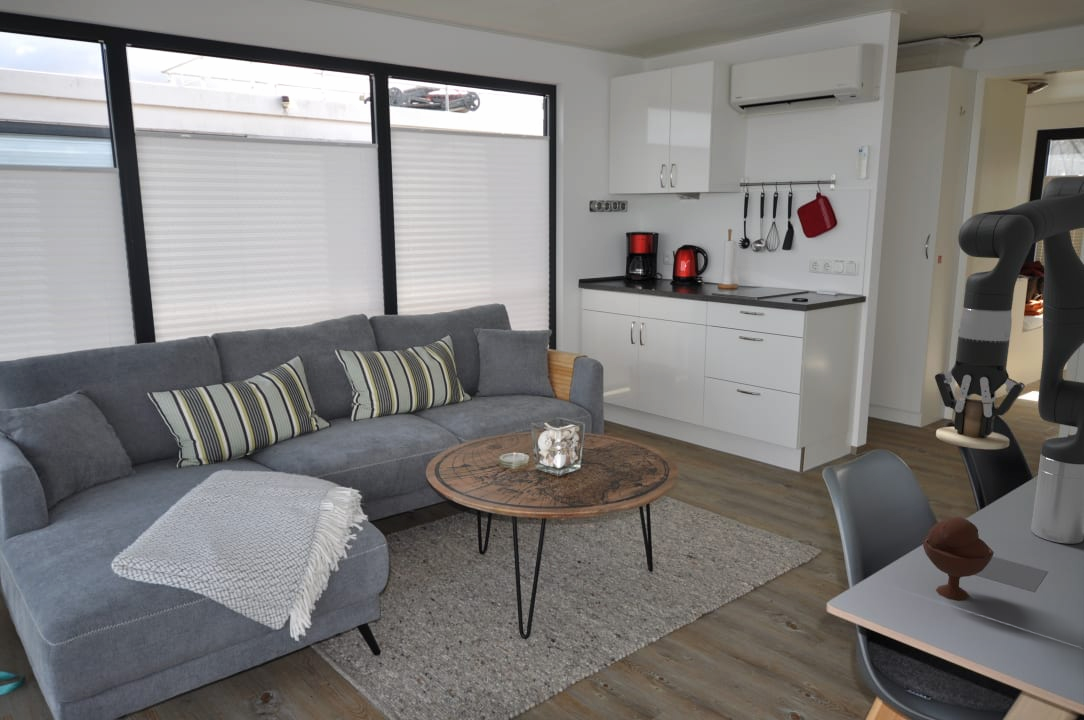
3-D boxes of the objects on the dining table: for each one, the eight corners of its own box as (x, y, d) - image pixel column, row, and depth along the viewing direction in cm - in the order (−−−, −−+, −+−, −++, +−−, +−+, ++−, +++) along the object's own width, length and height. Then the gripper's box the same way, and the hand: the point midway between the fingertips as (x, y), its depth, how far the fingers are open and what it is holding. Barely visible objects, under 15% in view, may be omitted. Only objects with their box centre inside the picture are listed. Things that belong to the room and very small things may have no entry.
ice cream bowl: (1002, 607, 133) (1012, 526, 130) (944, 612, 131) (953, 530, 128) (959, 578, 143) (968, 503, 140) (905, 583, 141) (912, 507, 138)
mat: (983, 555, 152) (983, 553, 152) (1047, 573, 145) (1048, 571, 145) (966, 574, 145) (966, 572, 144) (1034, 594, 137) (1034, 592, 137)
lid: (947, 427, 139) (951, 391, 138) (1016, 440, 131) (1021, 401, 130) (927, 439, 131) (931, 401, 130) (999, 453, 124) (1004, 412, 122)
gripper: (1037, 338, 126) (1024, 439, 129) (945, 329, 135) (935, 423, 139) (1026, 343, 121) (1013, 448, 124) (931, 333, 130) (921, 431, 133)
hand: (972, 434), depth 131 cm, fingers closed on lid, 3 cm apart
